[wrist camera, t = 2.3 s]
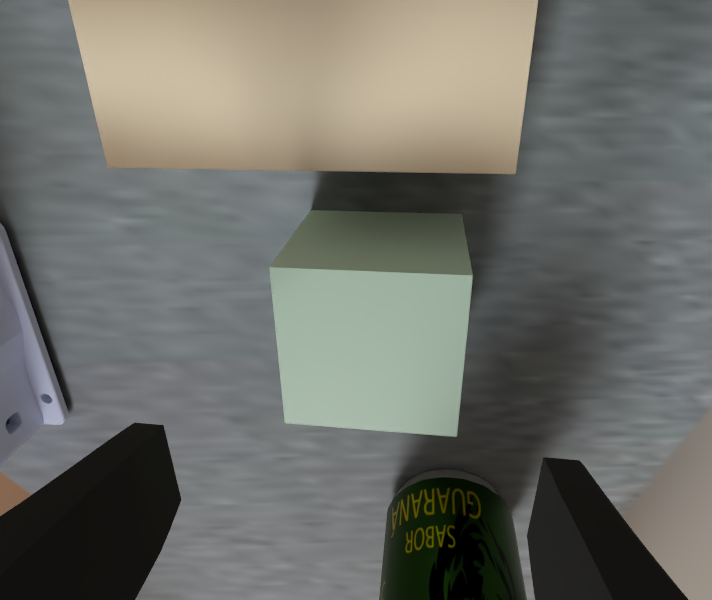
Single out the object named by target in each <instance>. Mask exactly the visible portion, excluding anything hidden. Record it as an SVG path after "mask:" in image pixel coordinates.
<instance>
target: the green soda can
mask: <svg viewBox="0 0 712 600" xmlns="http://www.w3.org/2000/svg"><path fill="white" fill-rule="evenodd" d="M379 600H527V598H526V592H525V586H524V581H523V575H522V569H521V563H520V557H519V552H518V546H517V540H516V534H515V528H514V523H513V519H512V515H511V511H510V509H509V507H508V506H507V505H506V503H505V502H504V501H503V499H502V498H501V497H500V495H499V494H498V493H497V492H496V490H495V489H494V488H493V486H492V485H490V484H489V483H488V482H486V481H485V480H483V479H482V478H480V477H479V476H476V475H473V474H470V473H467V472H464V471H460V470H450V469H440V470H433V471H426V472H424V473H422V474H419V475H417V476H414V477H412V478H411V479H410V480H409V481H407V482H406V483H405V484H404V485H403V486H402V487H401V488H400V489H399V491H398V492H397V494H396V495H395V497H394V498H393V500H392V502H391V504H390V506H389V508H388V512H387V522H386V533H385V544H384V554H383V565H382V576H381V586H380V597H379Z"/></svg>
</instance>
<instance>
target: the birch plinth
mask: <svg viewBox="0 0 712 600" xmlns="http://www.w3.org/2000/svg"><path fill="white" fill-rule="evenodd" d="M68 1H69V5H70V10H71V14H72V18H73V22H74V27H75V31H76V35H77V39H78V44H79V48H80V52H81V56H82V61H83V65H84V69H85V73H86V78H87V82H88V86H89V90H90V95H91V99H92V103H93V108H94V112H95V116H96V120H97V125H98V129H99V133H100V137H101V142H102V146H103V150H104V154H105V159H106V163H107V167H112V168H173V169H234V170H295V171H356V172H417V173H477V174H516V168H517V160H518V152H519V145H520V137H521V129H522V121H523V114H524V106H525V98H526V91H527V83H528V75H529V68H530V60H531V52H532V45H533V37H534V29H535V21H536V14H537V6H538V0H68Z"/></svg>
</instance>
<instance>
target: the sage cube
mask: <svg viewBox="0 0 712 600" xmlns="http://www.w3.org/2000/svg"><path fill="white" fill-rule="evenodd" d="M269 269H270V279H271V289H272V299H273V309H274V319H275V329H276V339H277V349H278V359H279V369H280V379H281V389H282V399H283V409H284V419H285V423H290V424H302V425H315V426H327V427H340V428H352V429H365V430H377V431H389V432H402V433H414V434H427V435H439V436H452V437H457V430H458V420H459V410H460V400H461V390H462V380H463V370H464V360H465V350H466V340H467V330H468V320H469V310H470V300H471V290H472V280H473V273H472V268H471V262H470V257H469V251H468V246H467V240H466V234H465V229H464V223H463V218H462V214H442V213H403V212H364V211H324V210H311V211H310V212H309V214H308V215H307V216H306V218H305V219H304V220H303V222H302V223H301V225H300V226H299V227H298V229H297V230H296V231H295V233H294V234H293V236H292V237H291V238H290V240H289V241H288V242H287V244H286V245H285V246H284V248H283V249H282V251H281V252H280V253H279V255H278V256H277V257H276V259H275V260H274V262H273V263H272V264H271V266H270V267H269Z"/></svg>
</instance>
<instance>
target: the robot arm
mask: <svg viewBox="0 0 712 600" xmlns="http://www.w3.org/2000/svg"><path fill="white" fill-rule="evenodd" d="M68 417H69V413H68V410H67V407H66V404H65V401H64V398H63V395H62V392H61V390H60V387H59V384H58V381H57V378H56V375H55V372H54V369H53V366H52V363H51V361H50V358H49V355H48V352H47V349H46V346H45V343H44V340H43V337H42V335H41V332H40V329H39V326H38V323H37V320H36V317H35V314H34V311H33V308H32V306H31V303H30V300H29V297H28V294H27V291H26V288H25V285H24V282H23V280H22V277H21V274H20V271H19V268H18V265H17V262H16V259H15V256H14V253H13V251H12V248H11V245H10V242H9V239H8V236H7V233H6V230H5V228H4V227H3V225H2V224H1V223H0V467H1V466H2V465H3V464H4V463H5V462H6V461H7V460H8V459H9V458H10V457H11V456H12V455H13V454H14V453H15V452H16V451H17V450H18V449H19V448H20V447H21V446H22V445H23V444H24V443H25V442H26V441H27V440H28V439H29V438H30V437H31V436H32V435H33V434H34V433H35V432H36V431H37V430H38V429H40V428H41V427H42V426H43V425H44V424H52V425H61V424H62V423H64V422H65V421H66V420H67V419H68ZM180 502H181V496H180V492H179V488H178V484H177V480H176V476H175V472H174V467H173V463H172V459H171V455H170V451H169V447H168V442H167V438H166V434H165V430H164V426H163V425H154V424H143V423H134V424H132V425H130V426H129V427H127V428H126V429H124V430H123V431H121V432H120V433H118V434H117V435H116V436H114V437H113V438H111V439H110V440H108V441H107V442H106V443H104V444H103V445H101V446H100V447H99V448H97V449H96V450H94V451H93V452H92V453H90V454H89V455H88V456H86V457H85V458H83V459H82V460H81V461H79V462H78V463H76V464H75V465H74V466H72V467H71V468H69V469H68V470H67V471H65V472H64V473H62V474H61V475H60V476H58V477H57V478H55V479H54V480H52V481H51V482H50V483H48V484H47V485H45V486H44V487H43V488H41V489H40V490H38V491H37V492H35V493H34V494H33V495H31V496H30V497H29V498H27V499H26V500H24V501H23V502H21V503H20V504H18V505H17V506H15V507H14V508H12V509H11V510H9V511H8V512H6V513H5V514H3V515H2V516H0V600H135V599H136V597H137V595H138V593H139V591H140V590H141V588H142V586H143V584H144V582H145V580H146V578H147V576H148V575H149V573H150V571H151V569H152V567H153V565H154V563H155V561H156V559H157V558H158V556H159V554H160V552H161V550H162V547H163V545H164V542H165V540H166V538H167V535H168V533H169V530H170V528H171V525H172V523H173V520H174V517H175V515H176V512H177V510H178V507H179V504H180ZM527 539H528V547H529V556H530V564H531V572H532V580H533V587H534V595H535V600H688V599H687V597H686V596H685V595H684V594H683V593H682V591H681V590H680V589H679V588H678V587H677V585H676V584H675V583H674V582H673V581H672V579H671V578H670V577H669V576H668V574H667V573H666V572H665V571H664V569H663V568H662V567H661V566H660V565H659V563H658V562H657V561H656V560H655V558H654V557H653V556H652V555H651V553H650V552H649V551H648V550H647V549H646V547H645V546H644V545H643V543H642V542H641V541H640V540H639V538H638V537H637V536H636V535H635V533H634V532H633V531H632V529H631V528H630V527H629V525H628V524H627V523H626V521H625V520H624V519H623V518H622V516H621V515H620V514H619V512H618V511H617V510H616V508H615V507H614V506H613V504H612V503H611V502H610V500H609V499H608V498H607V496H606V495H605V494H604V492H603V491H602V490H601V488H600V487H599V485H598V484H597V483H596V481H595V480H594V479H593V477H592V476H591V475H590V473H589V472H588V470H587V469H586V468H585V466H584V465H583V464H582V463H581V462H580V461H579V460H568V459H556V458H544V457H543V462H542V467H541V471H540V476H539V481H538V486H537V491H536V495H535V500H534V505H533V510H532V515H531V520H530V524H529V529H528V534H527Z"/></svg>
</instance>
